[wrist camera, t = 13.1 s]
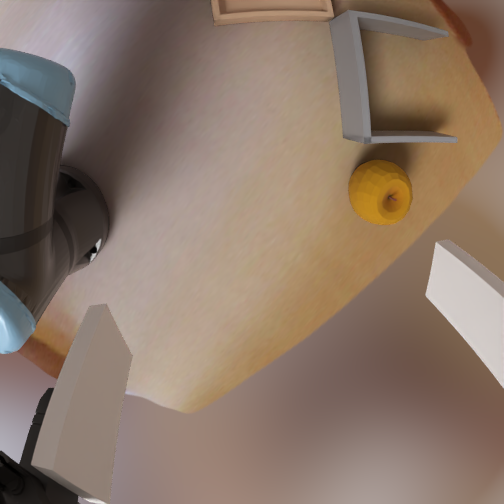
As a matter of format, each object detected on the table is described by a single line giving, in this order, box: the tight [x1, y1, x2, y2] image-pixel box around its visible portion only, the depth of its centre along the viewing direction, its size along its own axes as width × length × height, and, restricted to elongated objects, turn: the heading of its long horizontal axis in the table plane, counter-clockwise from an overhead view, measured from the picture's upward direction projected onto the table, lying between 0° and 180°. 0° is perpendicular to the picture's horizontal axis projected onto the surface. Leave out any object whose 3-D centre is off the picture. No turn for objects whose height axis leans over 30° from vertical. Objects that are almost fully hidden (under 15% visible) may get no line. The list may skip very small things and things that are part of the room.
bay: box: [329, 10, 457, 144], centre depth 30 cm, size 16×17×6 cm
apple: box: [348, 159, 413, 225], centre depth 35 cm, size 8×8×9 cm
